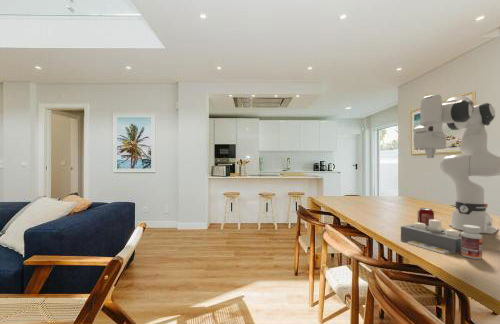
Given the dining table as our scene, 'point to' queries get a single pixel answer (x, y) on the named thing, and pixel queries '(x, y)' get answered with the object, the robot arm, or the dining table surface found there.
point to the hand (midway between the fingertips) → (430, 158)
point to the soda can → (425, 215)
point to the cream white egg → (435, 226)
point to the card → (428, 247)
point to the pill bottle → (471, 242)
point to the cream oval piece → (419, 225)
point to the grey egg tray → (432, 238)
